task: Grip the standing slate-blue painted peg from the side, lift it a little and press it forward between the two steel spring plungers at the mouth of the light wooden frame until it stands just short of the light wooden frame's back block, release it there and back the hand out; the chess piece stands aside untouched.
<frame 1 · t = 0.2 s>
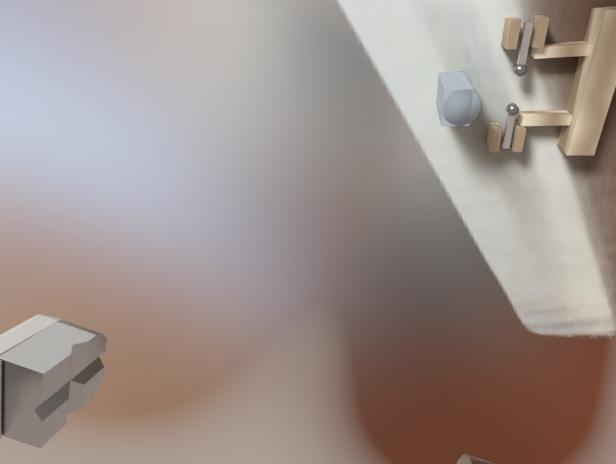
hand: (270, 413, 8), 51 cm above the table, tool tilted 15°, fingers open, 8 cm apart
plunger a: (523, 49, 45), point 3 cm above the table, slide at 0.0 cm
peg: (453, 87, 51), on the table
plunger b: (509, 126, 50), point 3 cm above the table, slide at 0.0 cm
light wooden frame: (541, 83, 49), on the table
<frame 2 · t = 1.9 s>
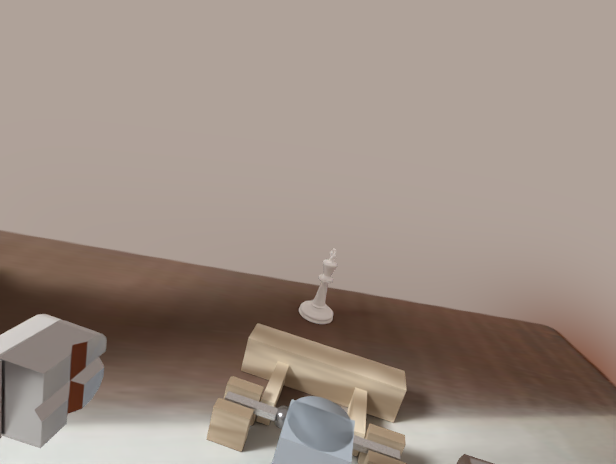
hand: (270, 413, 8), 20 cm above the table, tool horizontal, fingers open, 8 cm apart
chess piece: (315, 315, 54), on the table
plunger a: (257, 408, 32), point 3 cm above the table, slide at 0.0 cm
plunger b: (364, 445, 31), point 3 cm above the table, slide at 0.0 cm
light wooden frame: (309, 421, 35), on the table
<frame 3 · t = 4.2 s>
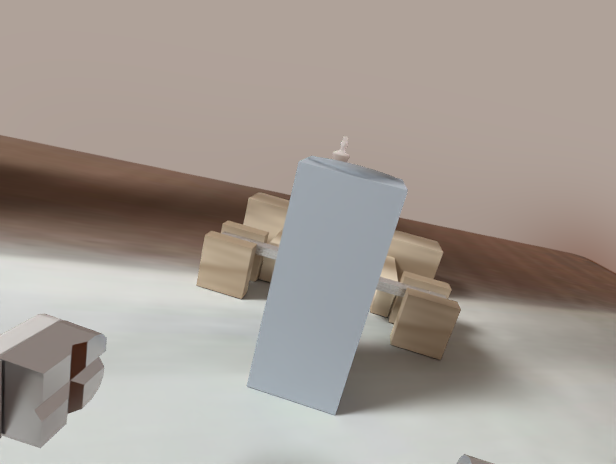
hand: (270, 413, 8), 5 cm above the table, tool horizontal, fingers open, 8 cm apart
chess piece: (324, 219, 47), on the table
plunger a: (262, 248, 25), point 3 cm above the table, slide at 0.0 cm
peg: (299, 372, 19), on the table
plunger b: (400, 289, 24), point 3 cm above the table, slide at 0.0 cm
light wooden frame: (325, 286, 29), on the table
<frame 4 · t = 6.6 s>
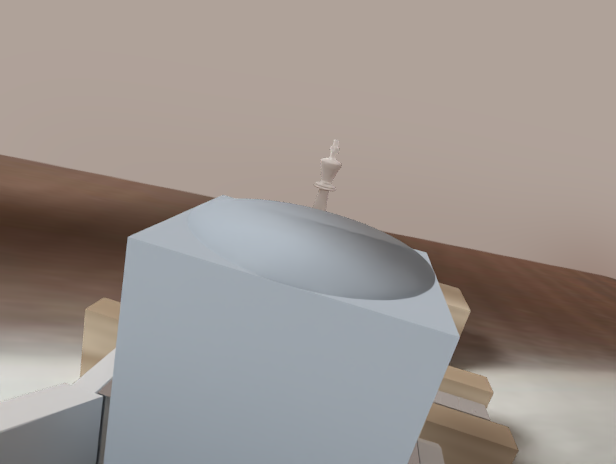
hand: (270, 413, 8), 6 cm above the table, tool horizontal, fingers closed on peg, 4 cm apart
chess piece: (310, 243, 38), on the table
plunger b: (410, 394, 15), point 3 cm above the table, slide at 0.0 cm
light wooden frame: (297, 365, 19), on the table
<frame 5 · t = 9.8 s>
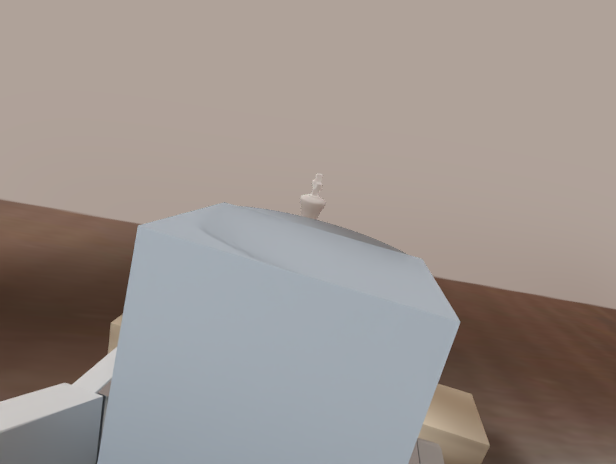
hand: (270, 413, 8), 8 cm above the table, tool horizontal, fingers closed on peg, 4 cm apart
chess piece: (290, 292, 32), on the table
when the fingers open (6 cm above the table, at t = 12.3 s): peg stays where it is, on the table.
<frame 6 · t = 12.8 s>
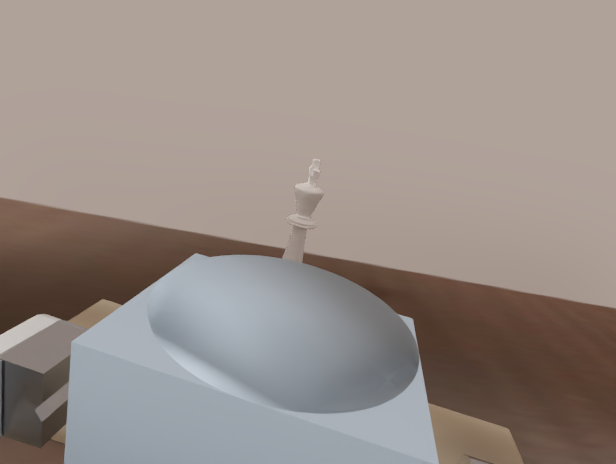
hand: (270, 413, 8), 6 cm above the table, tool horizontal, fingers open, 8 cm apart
chess piece: (283, 295, 28), on the table
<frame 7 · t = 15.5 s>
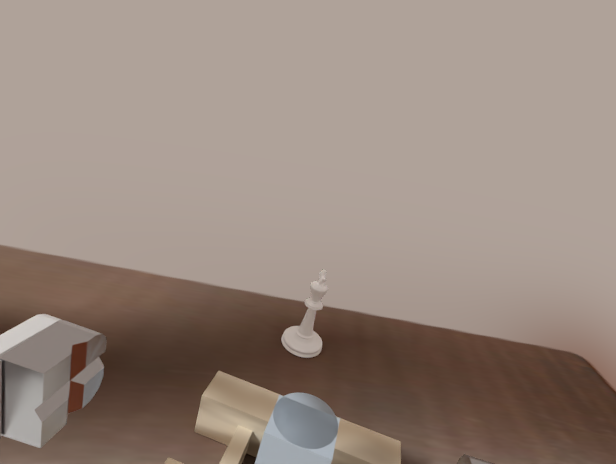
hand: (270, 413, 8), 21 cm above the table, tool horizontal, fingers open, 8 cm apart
chess piece: (301, 344, 46), on the table
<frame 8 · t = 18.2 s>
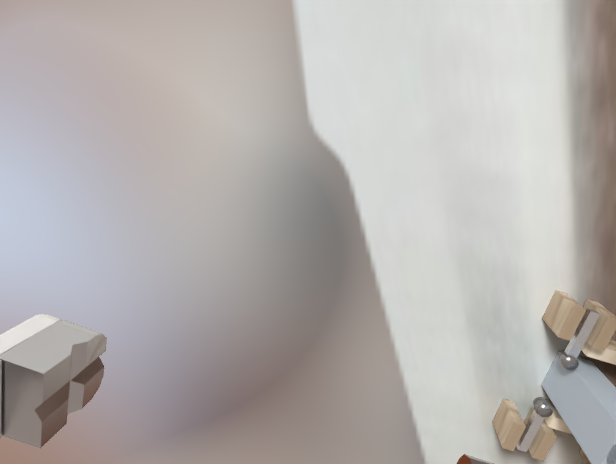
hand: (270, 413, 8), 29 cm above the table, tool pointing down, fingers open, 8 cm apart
plunger a: (578, 339, 33), point 3 cm above the table, slide at 0.3 cm
peg: (570, 374, 37), on the table
plunger b: (533, 425, 36), point 3 cm above the table, slide at 0.3 cm
light wooden frame: (578, 377, 37), on the table
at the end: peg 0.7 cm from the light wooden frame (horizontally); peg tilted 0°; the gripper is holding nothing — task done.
